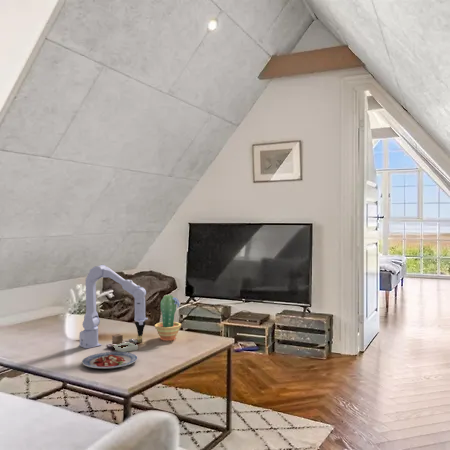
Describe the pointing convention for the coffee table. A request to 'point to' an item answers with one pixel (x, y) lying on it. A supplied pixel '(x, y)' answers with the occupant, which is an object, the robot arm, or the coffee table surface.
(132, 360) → the ceramic plate
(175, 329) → the potted cactus
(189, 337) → the coffee table surface
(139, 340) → the brass cylinder knob
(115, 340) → the block
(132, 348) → the tray
